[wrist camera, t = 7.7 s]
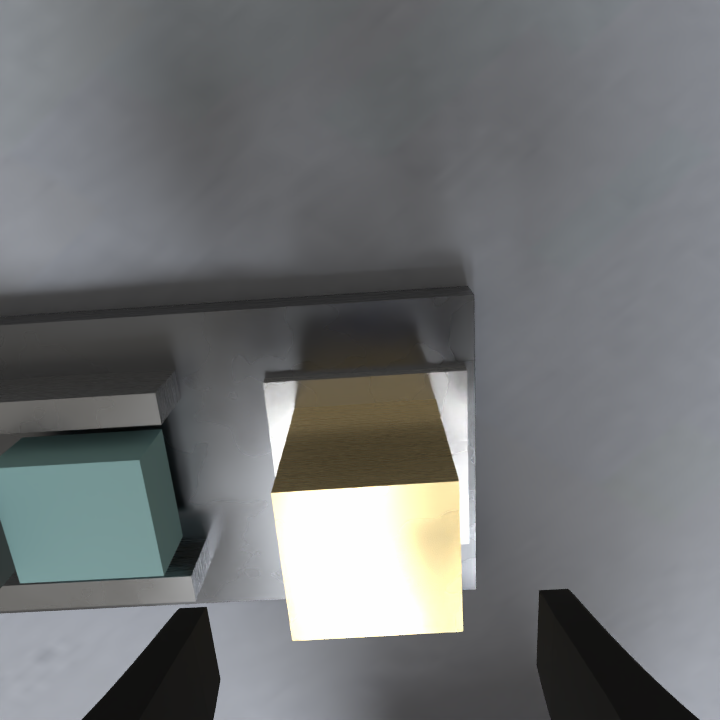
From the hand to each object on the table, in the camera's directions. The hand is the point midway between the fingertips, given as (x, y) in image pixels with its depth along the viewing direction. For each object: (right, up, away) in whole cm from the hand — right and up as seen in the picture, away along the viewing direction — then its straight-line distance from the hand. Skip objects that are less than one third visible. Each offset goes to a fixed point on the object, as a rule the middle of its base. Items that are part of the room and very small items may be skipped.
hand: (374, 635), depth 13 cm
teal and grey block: (-9, +2, +7) cm, 12 cm away
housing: (0, +2, +7) cm, 7 cm away
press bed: (-6, +3, +8) cm, 11 cm away
